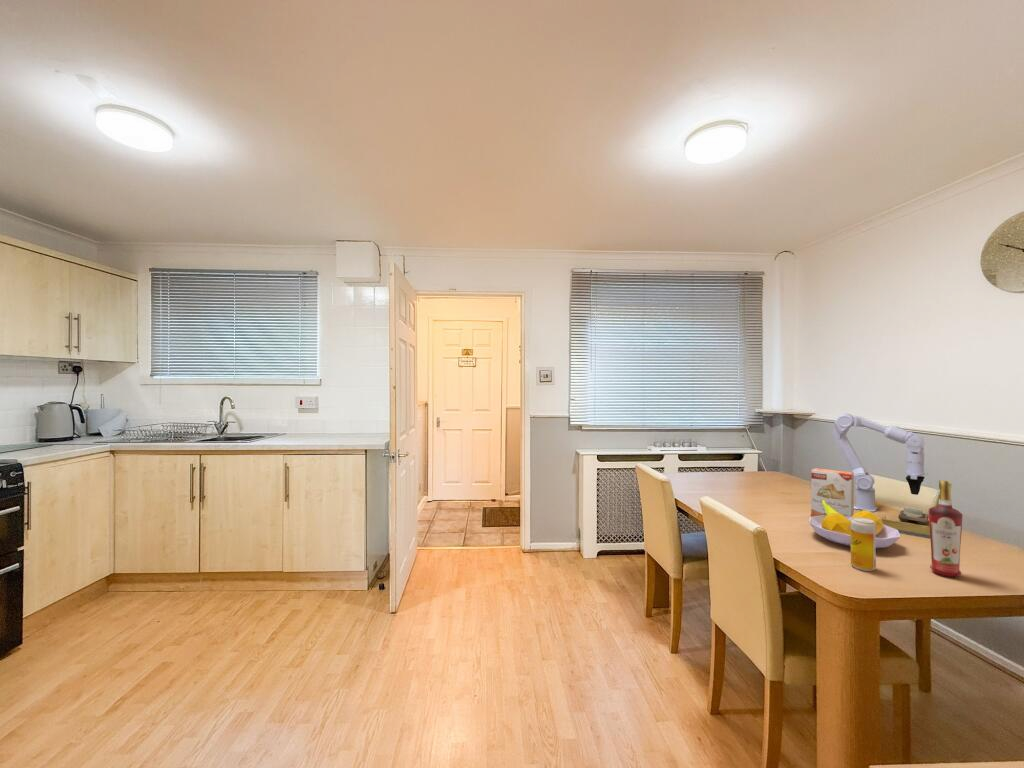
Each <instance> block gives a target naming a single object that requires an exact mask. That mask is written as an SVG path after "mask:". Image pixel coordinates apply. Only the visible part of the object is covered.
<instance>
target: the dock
mask: <svg viewBox="0 0 1024 768" xmlns="http://www.w3.org/2000/svg"><path fill="white" fill-rule="evenodd" d="M880 518H881V519H882V523H883V525H886V526H889V527H891V528H894V529H896V530H898V532H899V534H904V535H908V536H914V537H920V538H925V539H930V540H931V538H930V527H929V525H921V524H919V523H918V524H917V523H910V522H907V521H906V522H903V521H901V520H892V519H887V515H885V514H884V515H882V516H881V517H880Z"/></svg>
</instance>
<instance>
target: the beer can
mask: <svg viewBox="0 0 1024 768" xmlns="http://www.w3.org/2000/svg"><path fill="white" fill-rule="evenodd" d="M876 549H877V548H876V525H875V523H874V521H872V520H870V519H866V518H852V521H851V546H850V565H852V567H853V568H854V569H857V570H859V571H864V572H873V571H874V570H875V569H877V564H876V563H877V562H876V561H877V560H876V559H877V556H876V555H877V553H876V551H877V550H876Z"/></svg>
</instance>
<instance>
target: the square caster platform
mask: <svg viewBox="0 0 1024 768" xmlns="http://www.w3.org/2000/svg"><path fill="white" fill-rule="evenodd" d="M923 512H924V509H920V508H916V507H906V506H904V507H903V510H900V512H899V514H898V520H899V521H900V522H906V523H907V522H908V521H916V522H917V523H918V525H924V526H926V524H928V521H929V513H923Z"/></svg>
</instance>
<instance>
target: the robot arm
mask: <svg viewBox="0 0 1024 768" xmlns="http://www.w3.org/2000/svg"><path fill="white" fill-rule="evenodd" d="M852 427H854V428H855V427H864V428H867V429H869V430H873V431H876V432H879V433H882V434H883V435H884V437H885V438H886V439H890V440H892V441H895V442H896V443H900V444H902V445H903V444H906V451H905V454H906V455H905V456H906V457H905V459H906V461H905V463H906V464H905V466H906V468H905V470H906V471H905V474H906V475H907V476H905V480H906V482H907V483H908V486H909V490H910V494H911V495H916V496H918V495H919V493H920V490H921V486H922V483H923V482H924V479H925V476H929V474H928V473H927V472H925V452H924V451H925V448H924V446H925V443H926V442H925V439H924V437H923V436H921V435H920V434H918V433H914V432H913V431H911V430H910V431H908V430H906V429H902V428H900V426H897V425H895V426H894V425H890V426H884V425H883V424H880V423H877V422H875V421H872V420H871V419H867V418H864V417H861V416H859V415H852V414H851V413H843V414H840V415H839V416H837V418H836V419H835V420H834V422H833V430H832V437H833V438H834V440H835V442H836V444H837V446H838V448H839V450H840V451H841V454H842V455H843V457H844V458H845V461H846V462H847V464H848V466H849V468H850V469H851V471H852V473H854V479H855V481H854V483H855V484H854V485H855V486H854V510H860V511H862V510H869V511H871V512H872V513H875V512H876V511H877V509H879V508H878V506H876V489H875V488H874V487H873V486H874V484H875V478H874V477H873V476H872V475H871V474H870V473H869V472H868V471H867V470H866V468H865V466H864V465H863V463H862V462H861V460H860V458H859V456H858V455H857V453H856V451H855V449H854V447H853V446H852V444H851V442H850V440H849V438H848V437H847V433H848V432H849V430H850V428H852Z"/></svg>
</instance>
